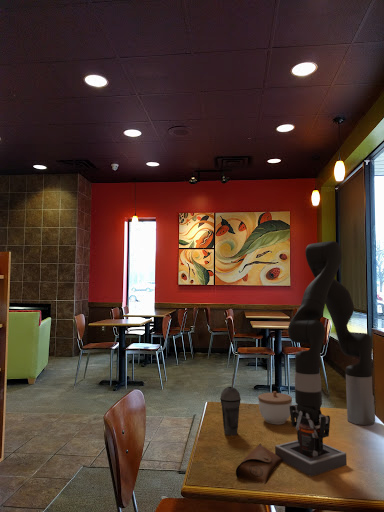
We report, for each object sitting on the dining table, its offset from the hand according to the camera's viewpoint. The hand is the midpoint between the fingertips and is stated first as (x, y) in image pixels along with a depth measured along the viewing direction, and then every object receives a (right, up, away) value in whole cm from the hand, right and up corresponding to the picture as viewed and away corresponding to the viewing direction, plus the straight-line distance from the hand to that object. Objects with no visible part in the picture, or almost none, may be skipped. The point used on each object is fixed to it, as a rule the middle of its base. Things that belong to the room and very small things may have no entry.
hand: (309, 446), depth 113 cm
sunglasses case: (-15, -4, -5) cm, 16 cm away
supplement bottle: (0, -3, 0) cm, 3 cm away
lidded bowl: (-3, -8, +35) cm, 35 cm away
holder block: (0, -4, 0) cm, 4 cm away
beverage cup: (-21, -6, +22) cm, 31 cm away
